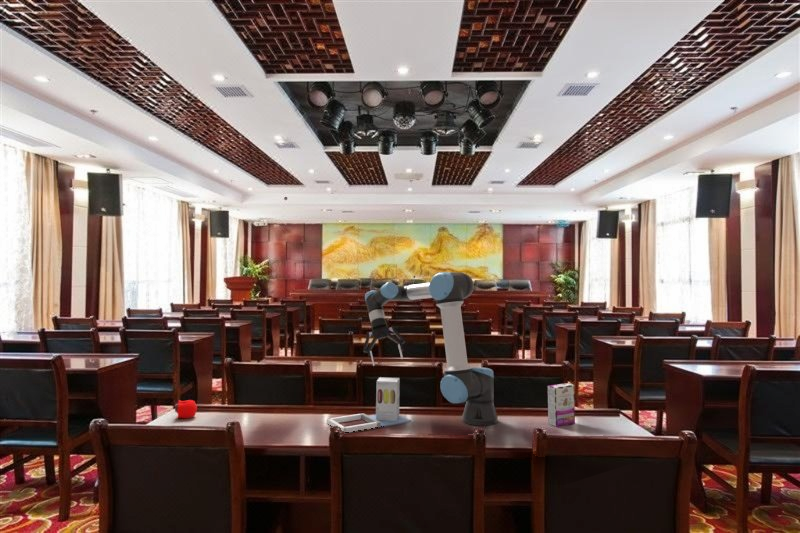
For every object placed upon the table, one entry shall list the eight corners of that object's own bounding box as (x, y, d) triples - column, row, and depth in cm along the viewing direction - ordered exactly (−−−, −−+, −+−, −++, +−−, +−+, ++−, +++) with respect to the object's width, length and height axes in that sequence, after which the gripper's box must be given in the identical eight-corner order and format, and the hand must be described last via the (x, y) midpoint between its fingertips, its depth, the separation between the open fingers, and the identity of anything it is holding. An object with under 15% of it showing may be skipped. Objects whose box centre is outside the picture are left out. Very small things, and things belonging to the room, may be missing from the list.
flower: (196, 407, 207) (176, 408, 205) (196, 422, 210) (176, 423, 207) (197, 396, 214) (178, 397, 211) (197, 410, 217) (178, 411, 214)
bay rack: (411, 421, 206) (411, 417, 206) (342, 433, 189) (342, 428, 189) (392, 413, 219) (392, 408, 219) (326, 423, 202) (326, 418, 203)
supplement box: (375, 420, 205) (375, 380, 206) (378, 414, 214) (378, 376, 215) (397, 421, 204) (397, 381, 205) (399, 415, 213) (399, 377, 214)
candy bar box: (566, 420, 208) (566, 382, 209) (575, 423, 204) (575, 385, 205) (547, 424, 203) (546, 385, 204) (556, 427, 199) (555, 387, 199)
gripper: (403, 318, 238) (413, 357, 227) (353, 329, 235) (362, 370, 225) (402, 311, 232) (413, 352, 221) (352, 323, 229) (361, 364, 218)
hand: (387, 361), depth 223 cm, fingers open, 13 cm apart
